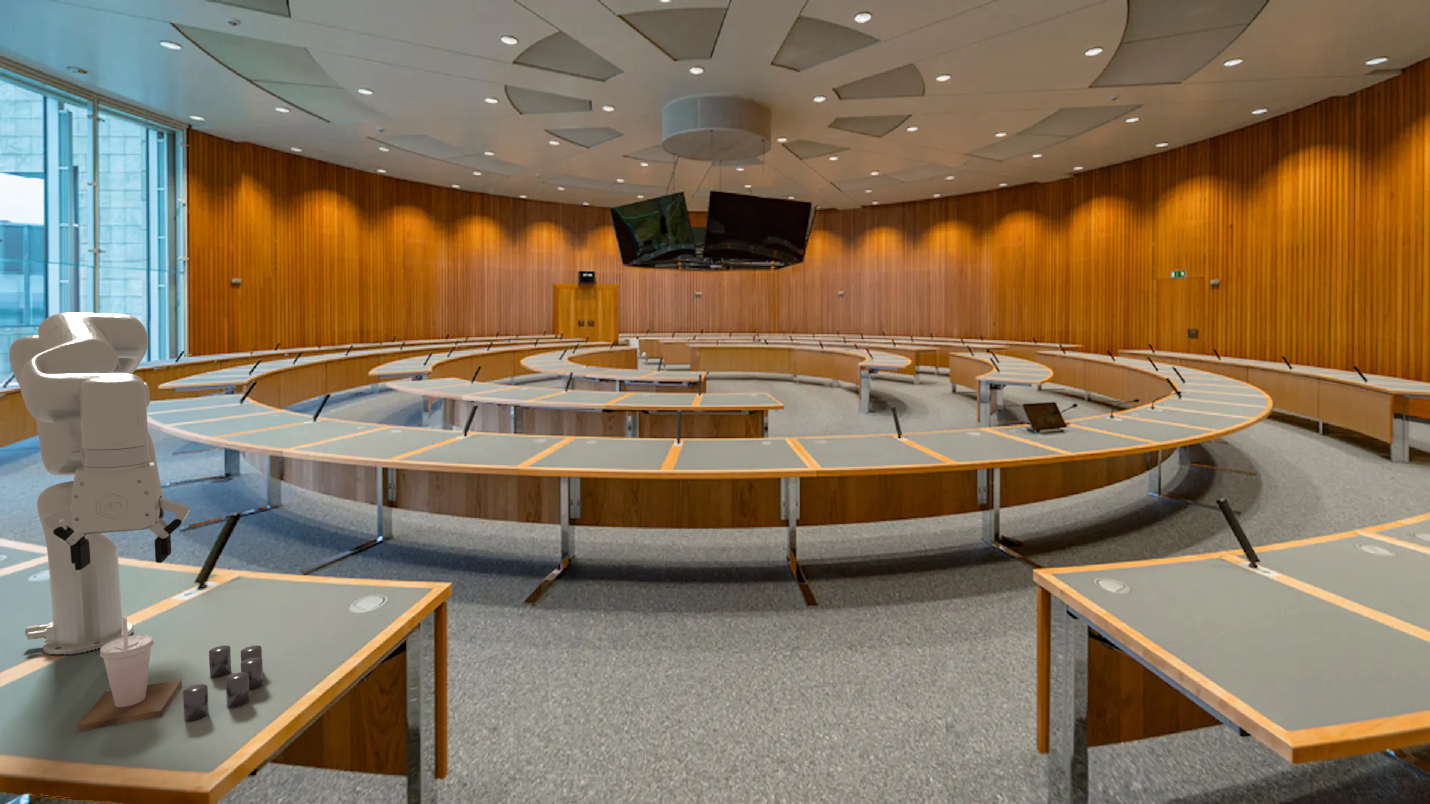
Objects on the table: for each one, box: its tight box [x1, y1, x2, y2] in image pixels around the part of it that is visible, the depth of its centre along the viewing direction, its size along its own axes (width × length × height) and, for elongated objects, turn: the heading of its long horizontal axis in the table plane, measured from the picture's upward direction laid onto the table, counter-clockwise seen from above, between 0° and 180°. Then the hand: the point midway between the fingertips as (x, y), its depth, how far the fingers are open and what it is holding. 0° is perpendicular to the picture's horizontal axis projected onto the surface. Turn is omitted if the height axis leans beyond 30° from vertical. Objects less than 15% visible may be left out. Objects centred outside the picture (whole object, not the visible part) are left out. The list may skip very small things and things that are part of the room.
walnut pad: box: [76, 679, 183, 732], centre depth 103 cm, size 10×10×1 cm
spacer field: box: [182, 645, 264, 723], centre depth 109 cm, size 9×17×4 cm, turn 25°
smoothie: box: [99, 617, 155, 707], centre depth 103 cm, size 6×6×14 cm
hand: (123, 563), depth 101 cm, fingers open, 9 cm apart
